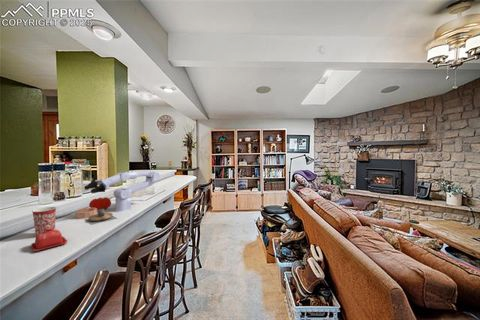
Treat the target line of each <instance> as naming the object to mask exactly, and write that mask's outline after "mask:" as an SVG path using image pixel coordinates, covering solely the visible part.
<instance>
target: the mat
mask: <svg viewBox="0 0 480 320" xmlns="http://www.w3.org/2000/svg"><path fill="white" fill-rule="evenodd" d="M117 219H118V218H117V217H116V216H114V215H113V216H112V217H111V218H108V219H106V220H103V221H90V220H89V218H85V219H83V220H84V221H86V222H87V223H88V224H90V225H91V226H92V225H96V224H100V223H105V222H109V221H112V220H117Z"/></svg>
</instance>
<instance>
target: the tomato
mask: <svg viewBox="0 0 480 320" xmlns="http://www.w3.org/2000/svg"><path fill="white" fill-rule="evenodd" d="M111 205H112V201H111V199H110V198H109V197H106V196H104V197H98V198H94V199H91V201H89V204H88V206H89V208H97V210H99V209H104V210H106V209H109V208H110V207H111Z"/></svg>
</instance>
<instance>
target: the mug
mask: <svg viewBox="0 0 480 320" xmlns="http://www.w3.org/2000/svg"><path fill="white" fill-rule="evenodd" d="M56 209H57V207H56V206H43V207H38V208H34V209H33V210H32V217H33V223H34V224H33V225H34V226H33V227H34V231H35V232H34V233H35V237H36V236H37V235H38V234H39V233H41V232H45V231H46V230H45V229H46V228H49V227H52V228H53V229H52V230H56V217H57V216H56V214H57V213H56V211H57V210H56Z"/></svg>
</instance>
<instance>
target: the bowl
mask: <svg viewBox="0 0 480 320" xmlns="http://www.w3.org/2000/svg"><path fill="white" fill-rule="evenodd" d="M95 214H98V213H97V208H90V207H87V208H81V209H78V210H76V211H75V218H76V219H78V220H84V219H89V217H90V216H92V215H95Z"/></svg>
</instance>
